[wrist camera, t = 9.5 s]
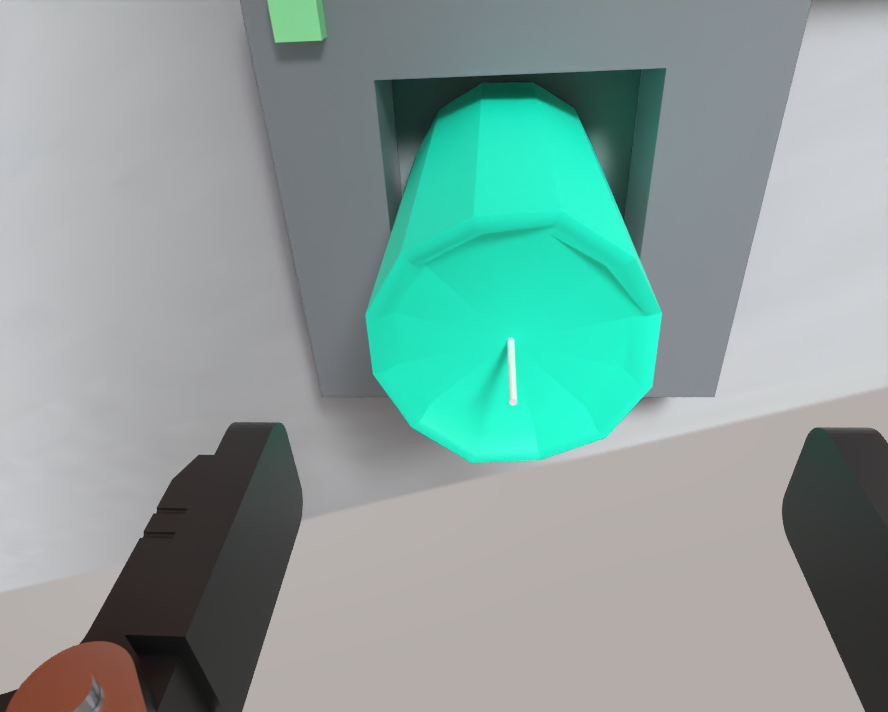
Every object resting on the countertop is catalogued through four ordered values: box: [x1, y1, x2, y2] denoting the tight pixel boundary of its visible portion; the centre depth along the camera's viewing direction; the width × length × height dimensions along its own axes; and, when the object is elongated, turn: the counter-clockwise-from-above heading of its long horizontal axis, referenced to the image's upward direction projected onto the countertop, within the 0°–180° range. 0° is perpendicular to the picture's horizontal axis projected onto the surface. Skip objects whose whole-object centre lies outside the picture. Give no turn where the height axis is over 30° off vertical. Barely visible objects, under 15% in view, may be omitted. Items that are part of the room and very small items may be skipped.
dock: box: [240, 0, 812, 397], centre depth 20 cm, size 14×14×4 cm
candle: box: [365, 82, 662, 463], centre depth 16 cm, size 6×6×12 cm
